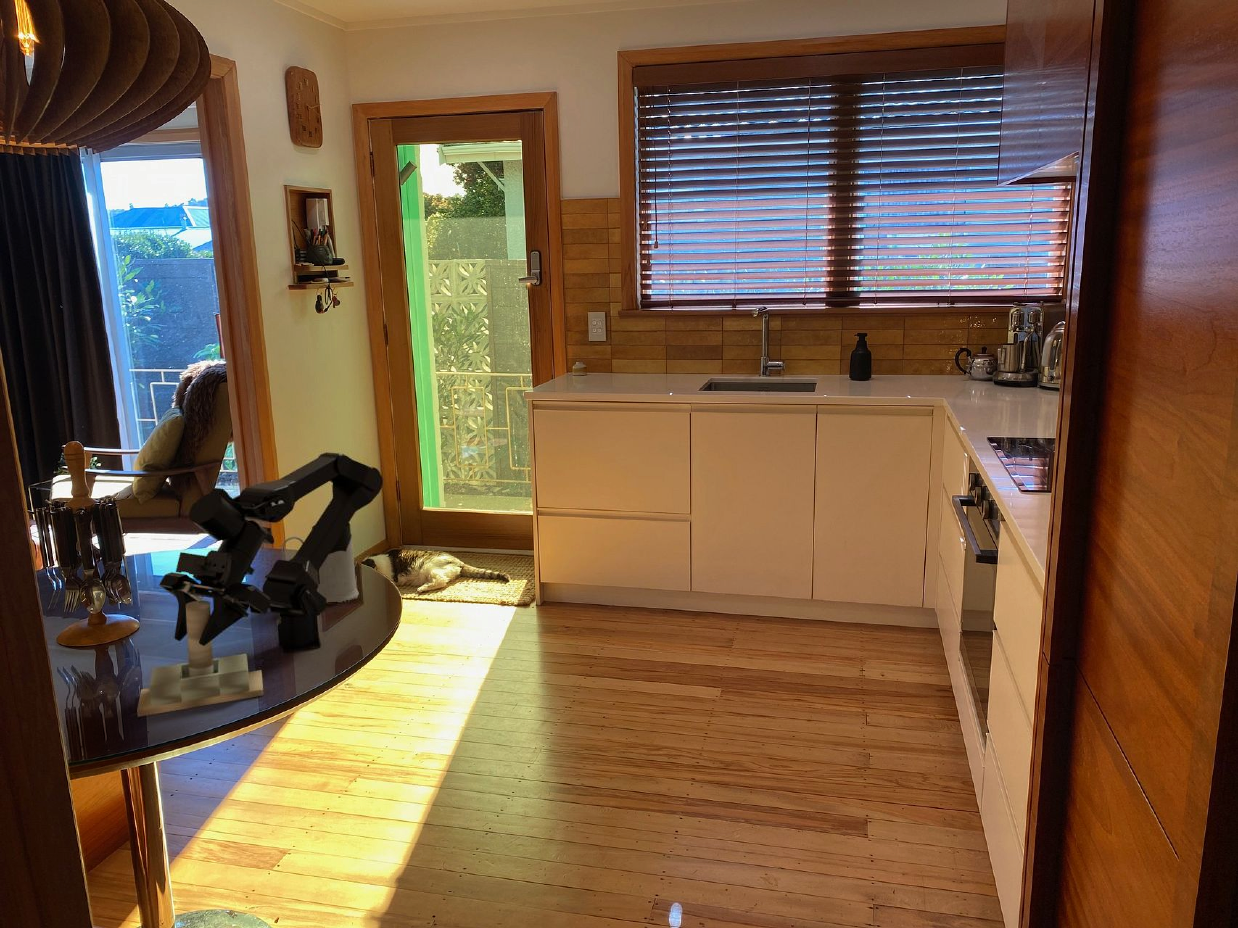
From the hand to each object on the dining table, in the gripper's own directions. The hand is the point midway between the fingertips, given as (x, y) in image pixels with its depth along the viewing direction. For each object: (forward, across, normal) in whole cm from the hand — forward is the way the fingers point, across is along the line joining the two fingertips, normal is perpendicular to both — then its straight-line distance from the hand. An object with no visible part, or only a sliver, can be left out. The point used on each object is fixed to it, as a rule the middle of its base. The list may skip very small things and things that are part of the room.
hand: (189, 642), depth 147 cm
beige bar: (+5, 0, +7) cm, 9 cm away
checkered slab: (+6, 0, +8) cm, 10 cm away
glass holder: (-25, -13, +38) cm, 48 cm away
